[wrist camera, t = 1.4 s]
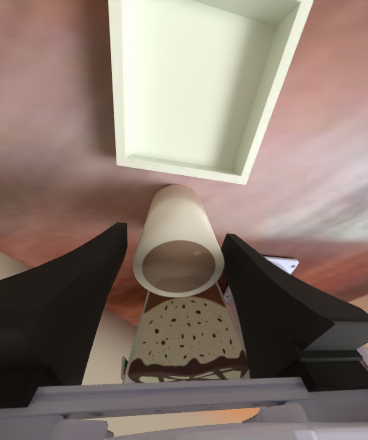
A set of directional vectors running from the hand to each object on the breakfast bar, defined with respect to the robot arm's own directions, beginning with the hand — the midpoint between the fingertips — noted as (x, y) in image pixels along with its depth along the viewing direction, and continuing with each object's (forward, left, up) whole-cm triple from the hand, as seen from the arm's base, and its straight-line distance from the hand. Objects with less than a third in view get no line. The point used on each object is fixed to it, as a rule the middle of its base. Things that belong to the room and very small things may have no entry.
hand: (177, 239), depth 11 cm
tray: (+9, 0, -5) cm, 10 cm away
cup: (0, 0, -5) cm, 5 cm away
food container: (-14, -3, -6) cm, 15 cm away
